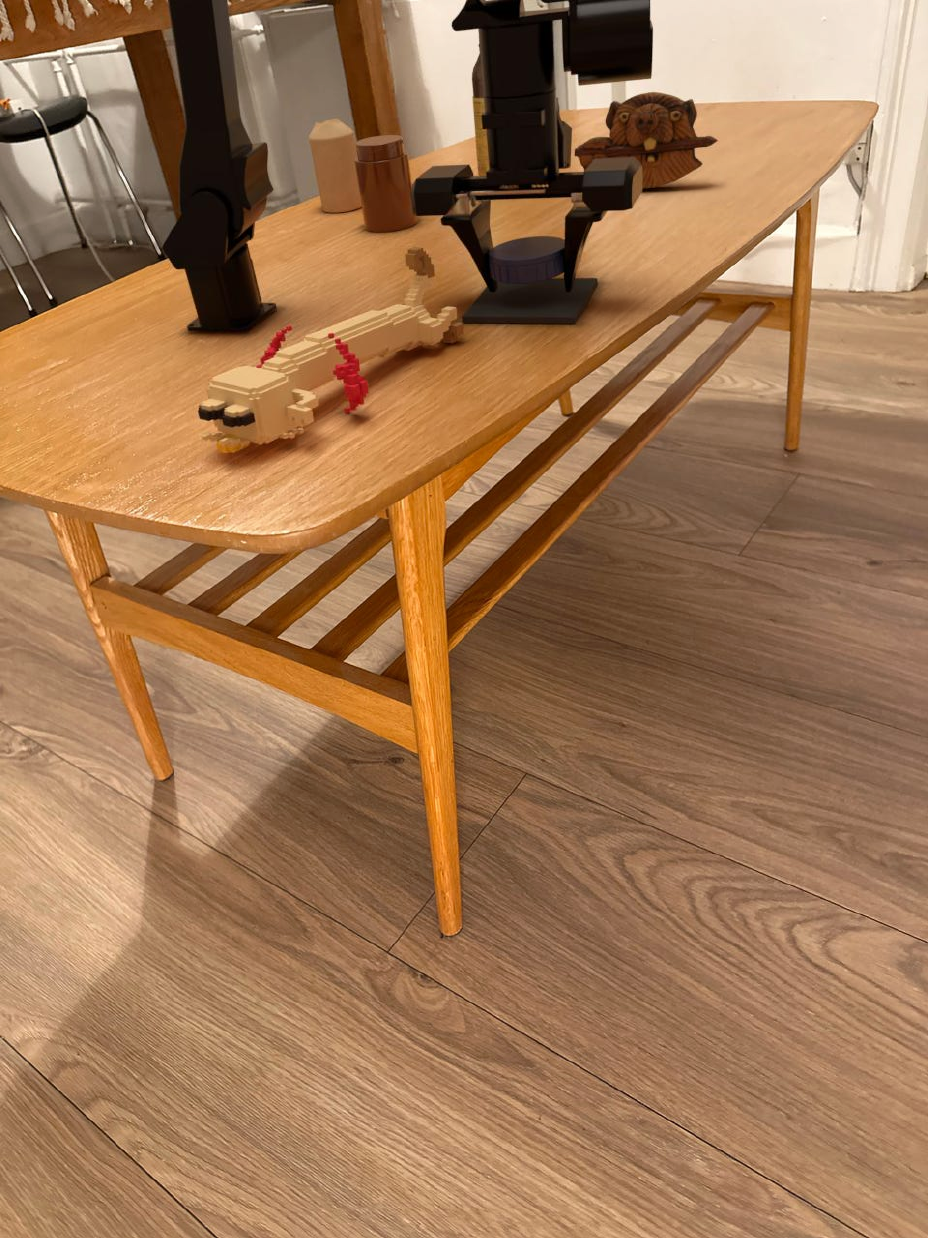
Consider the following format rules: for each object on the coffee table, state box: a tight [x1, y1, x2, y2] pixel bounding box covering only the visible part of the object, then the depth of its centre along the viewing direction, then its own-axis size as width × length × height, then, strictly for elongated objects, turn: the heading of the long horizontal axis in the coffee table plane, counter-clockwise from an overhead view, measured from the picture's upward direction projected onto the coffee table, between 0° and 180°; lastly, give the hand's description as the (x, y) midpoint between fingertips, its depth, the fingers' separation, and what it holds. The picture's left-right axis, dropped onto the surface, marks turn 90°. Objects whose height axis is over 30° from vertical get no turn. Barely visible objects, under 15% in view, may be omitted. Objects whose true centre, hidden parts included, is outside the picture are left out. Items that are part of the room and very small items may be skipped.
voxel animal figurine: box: [197, 246, 465, 455], centre depth 68 cm, size 10×9×25 cm
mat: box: [461, 277, 599, 325], centre depth 82 cm, size 10×10×1 cm
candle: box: [308, 118, 362, 213], centre depth 115 cm, size 6×6×10 cm
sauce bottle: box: [471, 29, 517, 188], centre depth 111 cm, size 6×6×20 cm
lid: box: [489, 235, 565, 284], centre depth 80 cm, size 7×7×2 cm
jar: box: [354, 134, 418, 233], centre depth 106 cm, size 6×6×9 cm
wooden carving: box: [574, 91, 719, 189], centre depth 107 cm, size 16×5×10 cm, turn 76°
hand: (531, 290), depth 82 cm, fingers closed on lid, 6 cm apart
